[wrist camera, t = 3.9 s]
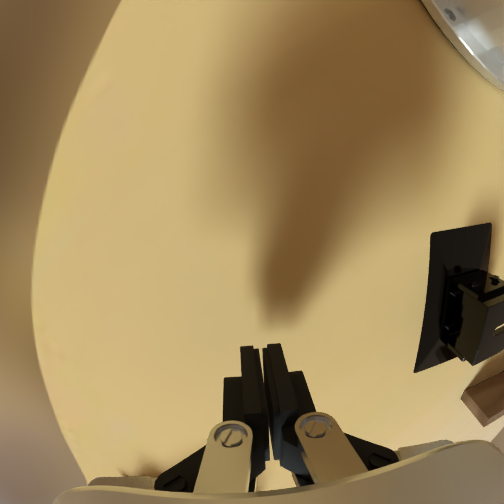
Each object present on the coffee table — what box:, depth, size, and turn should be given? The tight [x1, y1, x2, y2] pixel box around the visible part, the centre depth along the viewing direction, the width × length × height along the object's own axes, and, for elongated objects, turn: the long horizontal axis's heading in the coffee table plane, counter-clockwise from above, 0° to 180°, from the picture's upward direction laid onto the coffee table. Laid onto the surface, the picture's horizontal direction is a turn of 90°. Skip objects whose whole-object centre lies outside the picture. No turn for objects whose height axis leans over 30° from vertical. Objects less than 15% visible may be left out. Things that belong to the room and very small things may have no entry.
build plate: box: [414, 223, 504, 373], centre depth 13 cm, size 12×7×5 cm, turn 8°
